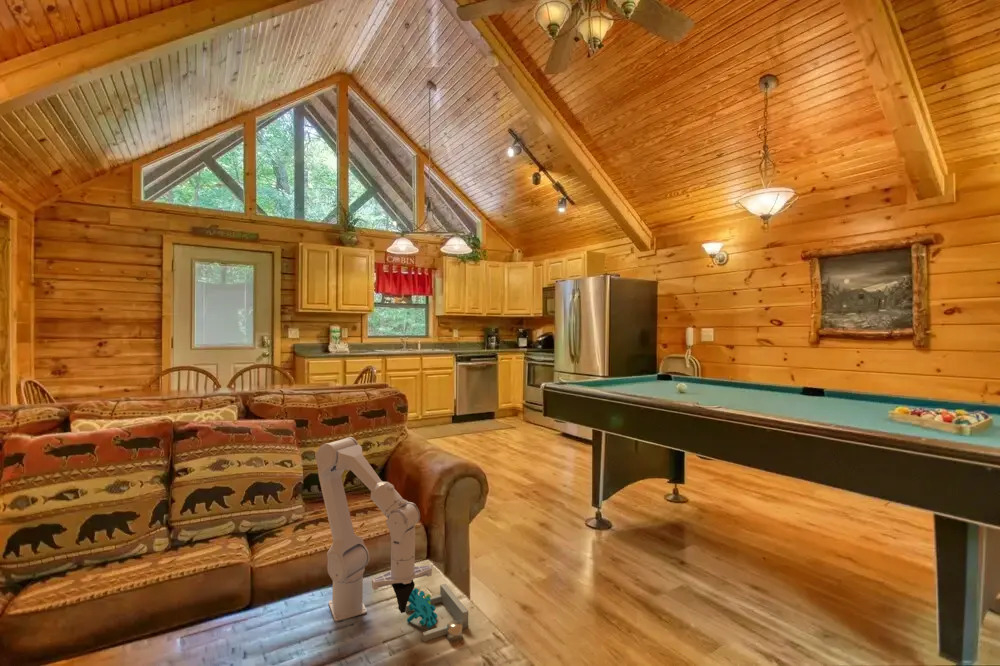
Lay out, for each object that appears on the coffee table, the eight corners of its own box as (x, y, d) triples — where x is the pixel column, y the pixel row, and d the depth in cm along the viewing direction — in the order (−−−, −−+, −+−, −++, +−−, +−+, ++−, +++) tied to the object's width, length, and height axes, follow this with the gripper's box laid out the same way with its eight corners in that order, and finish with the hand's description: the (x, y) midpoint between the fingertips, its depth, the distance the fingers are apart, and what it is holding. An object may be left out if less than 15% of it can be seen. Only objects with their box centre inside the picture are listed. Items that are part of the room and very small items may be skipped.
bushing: (444, 635, 114) (444, 622, 114) (458, 630, 116) (458, 618, 116) (450, 643, 111) (450, 631, 111) (464, 639, 113) (464, 626, 113)
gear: (431, 631, 113) (405, 596, 115) (413, 647, 113) (388, 612, 115) (445, 611, 124) (421, 579, 126) (428, 626, 124) (405, 594, 126)
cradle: (404, 609, 124) (404, 594, 124) (445, 598, 130) (445, 583, 130) (424, 641, 112) (424, 624, 112) (468, 627, 117) (468, 611, 117)
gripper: (377, 569, 109) (376, 628, 109) (436, 555, 116) (435, 610, 117) (370, 556, 115) (369, 612, 116) (426, 544, 123) (425, 596, 123)
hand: (401, 610), depth 116 cm, fingers closed
